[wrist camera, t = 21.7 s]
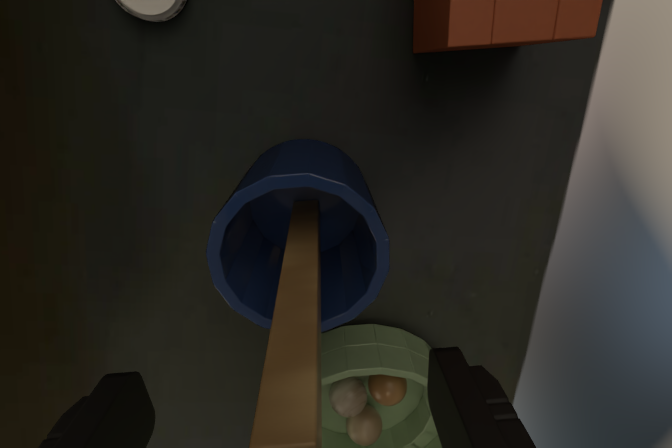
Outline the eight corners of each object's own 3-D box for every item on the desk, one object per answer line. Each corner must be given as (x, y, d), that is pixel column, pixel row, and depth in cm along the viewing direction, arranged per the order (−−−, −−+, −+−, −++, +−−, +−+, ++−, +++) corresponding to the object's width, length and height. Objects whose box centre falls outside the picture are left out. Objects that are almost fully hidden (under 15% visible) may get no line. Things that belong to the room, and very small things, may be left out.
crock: (365, 134, 22) (389, 166, 14) (369, 251, 25) (389, 326, 18) (232, 143, 22) (188, 182, 14) (253, 260, 25) (226, 339, 18)
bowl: (448, 311, 28) (474, 360, 23) (438, 435, 33) (458, 493, 29) (265, 326, 27) (254, 378, 23) (287, 448, 33) (282, 509, 28)
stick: (318, 199, 23) (316, 444, 8) (320, 222, 23) (322, 485, 9) (293, 201, 23) (247, 449, 8) (296, 224, 23) (258, 491, 9)
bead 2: (356, 395, 31) (386, 400, 30) (361, 431, 31) (391, 438, 29) (336, 410, 29) (367, 416, 27) (340, 448, 29) (372, 457, 27)
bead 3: (421, 385, 27) (403, 399, 25) (396, 404, 29) (376, 419, 26) (397, 351, 29) (377, 361, 26) (374, 371, 30) (353, 383, 28)
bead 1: (356, 362, 29) (380, 391, 27) (342, 386, 30) (365, 416, 28) (329, 373, 27) (354, 406, 25) (316, 399, 28) (338, 432, 26)
